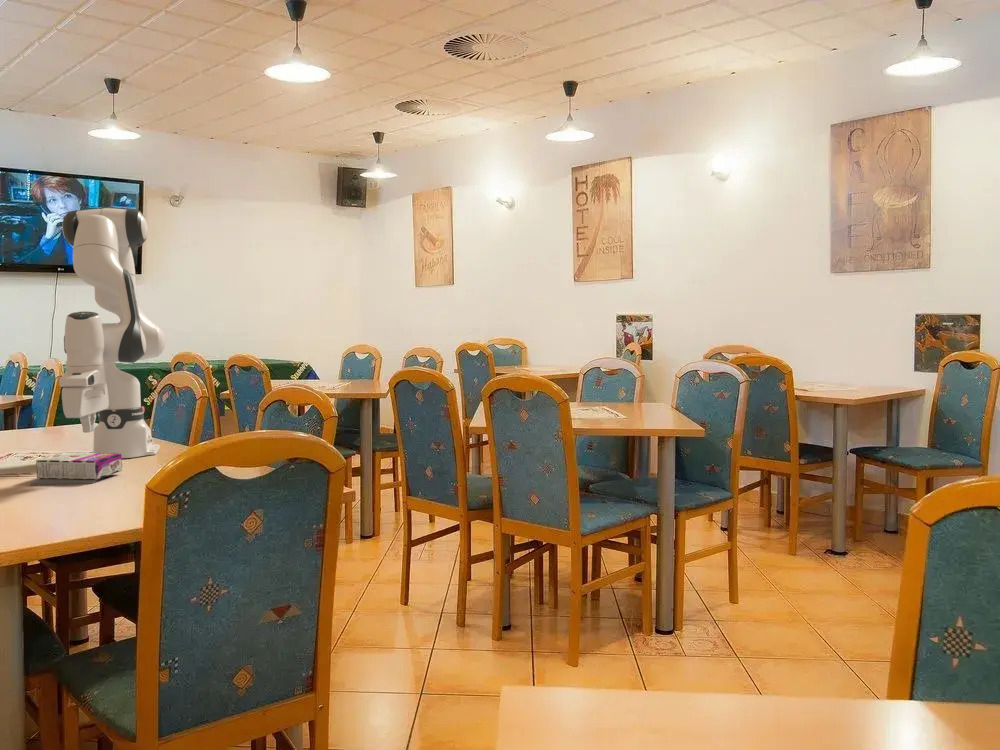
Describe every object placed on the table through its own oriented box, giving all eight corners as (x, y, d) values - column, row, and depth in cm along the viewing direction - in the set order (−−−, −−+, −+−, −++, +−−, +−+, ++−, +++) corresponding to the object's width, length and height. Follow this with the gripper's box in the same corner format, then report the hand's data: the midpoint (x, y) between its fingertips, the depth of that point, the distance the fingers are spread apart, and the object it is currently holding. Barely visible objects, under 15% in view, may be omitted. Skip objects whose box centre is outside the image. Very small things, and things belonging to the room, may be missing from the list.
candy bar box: (123, 472, 214) (65, 470, 216) (122, 453, 213) (64, 451, 216) (96, 481, 203) (35, 479, 205) (95, 461, 202) (34, 459, 205)
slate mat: (49, 476, 211) (49, 474, 211) (108, 474, 213) (108, 472, 213) (30, 485, 200) (30, 482, 200) (92, 483, 202) (92, 481, 202)
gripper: (88, 374, 215) (91, 426, 216) (55, 380, 195) (58, 438, 196) (114, 373, 216) (116, 425, 217) (83, 379, 196) (86, 437, 197)
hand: (88, 431), depth 206 cm, fingers closed
